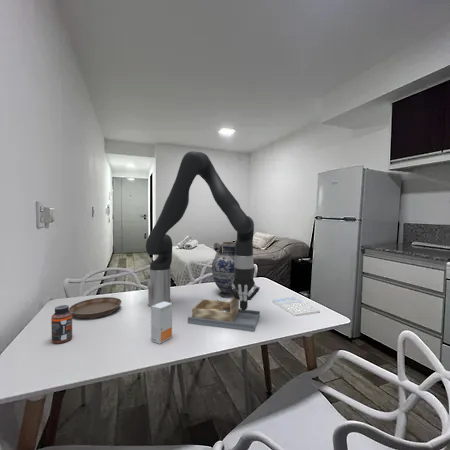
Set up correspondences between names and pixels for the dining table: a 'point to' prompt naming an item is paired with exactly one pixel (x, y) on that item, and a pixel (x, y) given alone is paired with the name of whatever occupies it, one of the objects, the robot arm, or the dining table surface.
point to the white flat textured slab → (295, 306)
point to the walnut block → (227, 307)
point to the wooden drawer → (216, 310)
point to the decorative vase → (224, 267)
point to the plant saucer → (95, 307)
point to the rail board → (241, 322)
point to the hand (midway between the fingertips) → (243, 309)
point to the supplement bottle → (61, 324)
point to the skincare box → (161, 322)
